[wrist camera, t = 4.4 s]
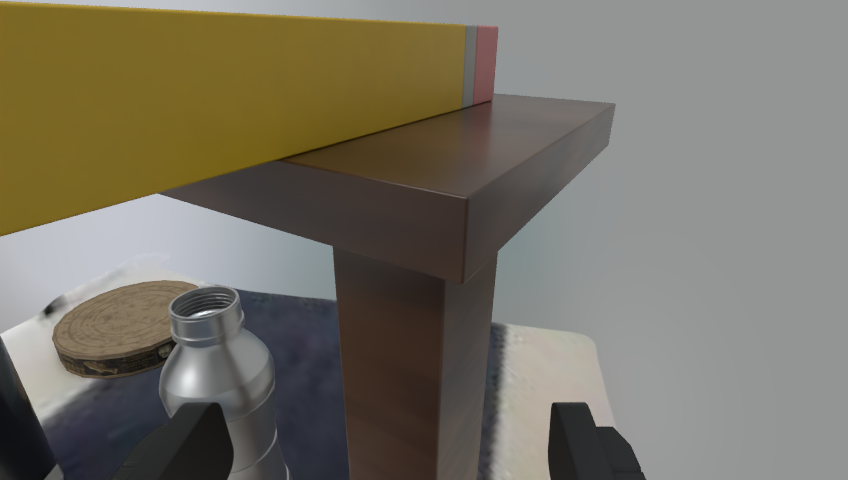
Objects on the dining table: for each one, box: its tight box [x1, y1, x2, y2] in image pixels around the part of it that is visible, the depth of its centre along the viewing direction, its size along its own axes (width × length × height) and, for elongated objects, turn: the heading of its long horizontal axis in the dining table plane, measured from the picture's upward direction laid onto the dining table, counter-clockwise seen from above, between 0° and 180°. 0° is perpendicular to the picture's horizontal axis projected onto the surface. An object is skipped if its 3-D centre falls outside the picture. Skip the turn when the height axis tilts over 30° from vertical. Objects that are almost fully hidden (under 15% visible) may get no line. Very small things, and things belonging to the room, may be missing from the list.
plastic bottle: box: [159, 286, 293, 480], centre depth 30 cm, size 6×7×20 cm
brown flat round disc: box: [52, 280, 199, 379], centre depth 55 cm, size 16×16×3 cm
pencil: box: [0, 1, 498, 236], centre depth 9 cm, size 18×2×2 cm, turn 149°
